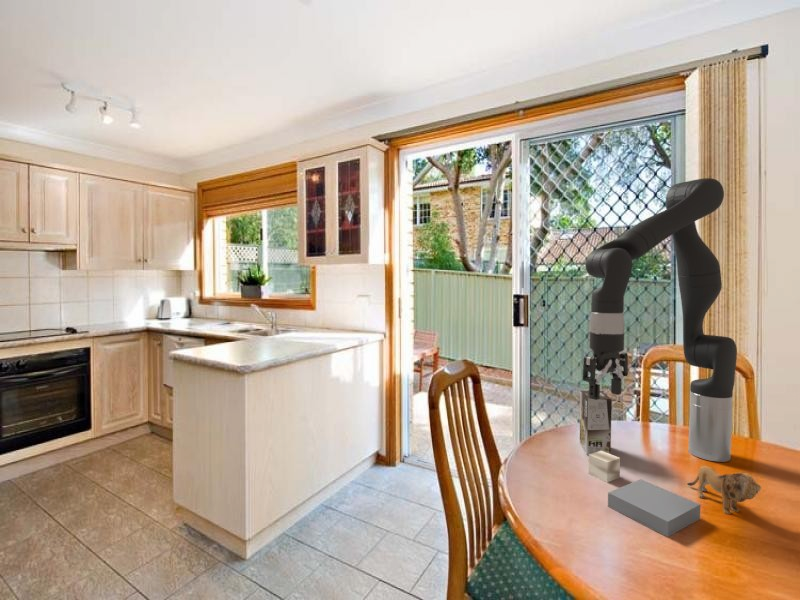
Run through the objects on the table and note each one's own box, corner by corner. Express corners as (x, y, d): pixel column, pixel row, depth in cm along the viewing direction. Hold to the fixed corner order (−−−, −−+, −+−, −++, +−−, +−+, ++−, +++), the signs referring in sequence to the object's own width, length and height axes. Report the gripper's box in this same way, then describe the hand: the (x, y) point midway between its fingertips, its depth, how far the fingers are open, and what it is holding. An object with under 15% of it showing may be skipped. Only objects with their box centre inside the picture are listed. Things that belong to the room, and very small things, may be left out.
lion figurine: (765, 520, 81) (766, 477, 80) (744, 524, 79) (746, 480, 79) (695, 485, 95) (696, 447, 95) (677, 487, 94) (678, 450, 93)
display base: (640, 491, 92) (640, 479, 92) (700, 518, 81) (700, 504, 81) (607, 506, 86) (608, 492, 86) (667, 537, 76) (667, 521, 75)
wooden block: (600, 469, 103) (601, 450, 103) (619, 477, 99) (620, 457, 99) (588, 474, 101) (588, 454, 101) (607, 482, 96) (607, 462, 96)
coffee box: (611, 457, 110) (612, 399, 109) (586, 455, 111) (587, 398, 111) (602, 444, 119) (602, 390, 118) (578, 442, 120) (579, 389, 120)
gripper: (610, 327, 105) (608, 389, 106) (574, 331, 98) (573, 396, 99) (639, 330, 98) (637, 396, 99) (602, 334, 91) (601, 404, 92)
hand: (605, 396), depth 99 cm, fingers open, 8 cm apart
